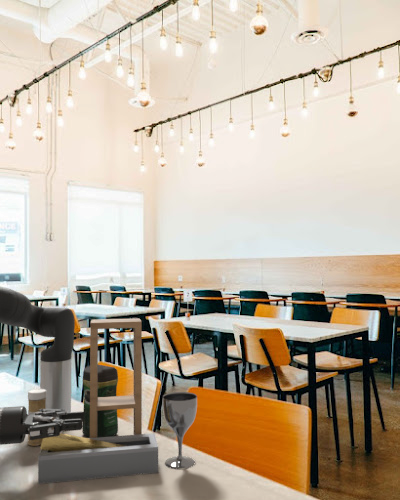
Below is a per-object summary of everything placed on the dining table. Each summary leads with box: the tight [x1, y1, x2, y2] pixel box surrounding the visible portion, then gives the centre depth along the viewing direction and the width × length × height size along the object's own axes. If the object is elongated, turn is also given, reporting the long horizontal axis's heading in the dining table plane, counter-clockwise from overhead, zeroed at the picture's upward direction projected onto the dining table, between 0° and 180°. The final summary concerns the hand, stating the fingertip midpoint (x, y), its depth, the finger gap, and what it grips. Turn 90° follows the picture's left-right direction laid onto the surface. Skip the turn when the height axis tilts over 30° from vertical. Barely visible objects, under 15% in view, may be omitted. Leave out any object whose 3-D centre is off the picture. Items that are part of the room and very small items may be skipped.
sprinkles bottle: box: [27, 388, 47, 447], centre depth 117 cm, size 5×5×13 cm
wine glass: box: [162, 391, 198, 470], centre depth 104 cm, size 8×8×15 cm
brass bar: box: [39, 433, 125, 452], centre depth 100 cm, size 3×20×3 cm, turn 101°
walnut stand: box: [89, 317, 143, 438], centre depth 110 cm, size 8×12×32 cm, turn 101°
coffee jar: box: [81, 364, 119, 438], centre depth 123 cm, size 10×8×19 cm
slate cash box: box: [37, 432, 159, 485], centre depth 100 cm, size 9×25×6 cm, turn 101°
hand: (82, 420), depth 100 cm, fingers open, 4 cm apart
